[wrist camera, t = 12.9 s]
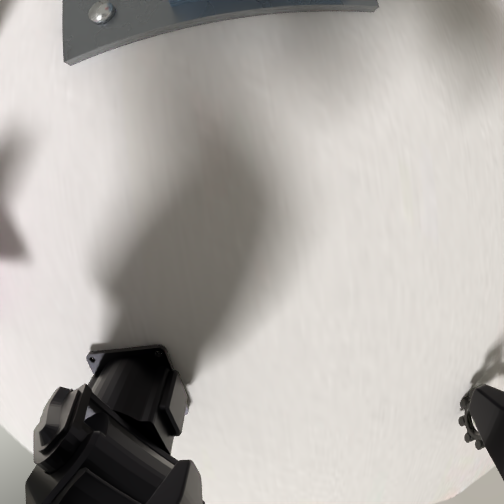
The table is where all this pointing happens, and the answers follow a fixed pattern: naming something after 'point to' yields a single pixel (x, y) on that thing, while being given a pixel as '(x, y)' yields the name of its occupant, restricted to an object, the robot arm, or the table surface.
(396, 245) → the table surface
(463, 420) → the valve
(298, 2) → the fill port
